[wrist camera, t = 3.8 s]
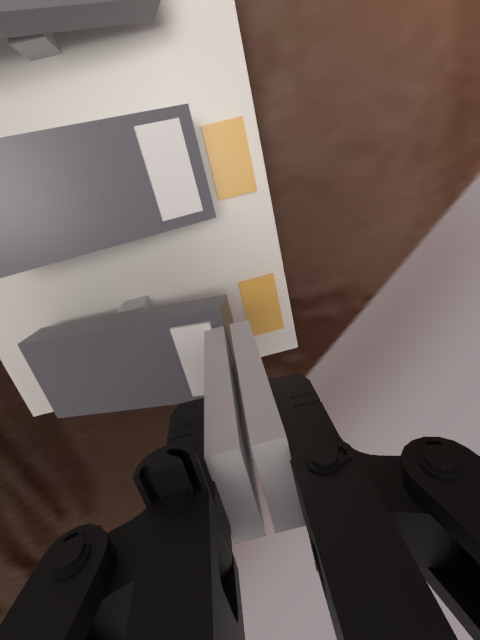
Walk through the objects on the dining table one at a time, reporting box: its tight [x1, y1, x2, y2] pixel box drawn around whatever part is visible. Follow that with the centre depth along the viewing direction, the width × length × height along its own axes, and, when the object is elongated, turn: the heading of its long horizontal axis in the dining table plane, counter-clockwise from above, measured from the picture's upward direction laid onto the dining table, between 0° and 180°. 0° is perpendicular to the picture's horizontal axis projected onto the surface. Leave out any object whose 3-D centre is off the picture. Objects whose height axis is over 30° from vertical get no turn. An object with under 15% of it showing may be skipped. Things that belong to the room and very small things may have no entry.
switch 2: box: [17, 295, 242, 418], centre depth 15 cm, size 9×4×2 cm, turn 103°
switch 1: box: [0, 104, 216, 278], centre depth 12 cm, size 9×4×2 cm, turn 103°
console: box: [0, 0, 298, 417], centre depth 16 cm, size 15×20×6 cm
